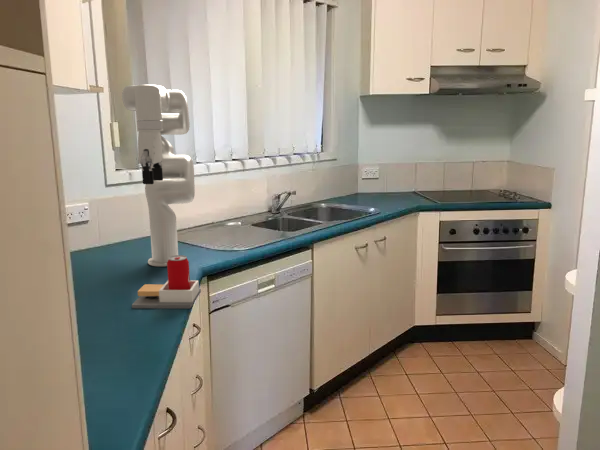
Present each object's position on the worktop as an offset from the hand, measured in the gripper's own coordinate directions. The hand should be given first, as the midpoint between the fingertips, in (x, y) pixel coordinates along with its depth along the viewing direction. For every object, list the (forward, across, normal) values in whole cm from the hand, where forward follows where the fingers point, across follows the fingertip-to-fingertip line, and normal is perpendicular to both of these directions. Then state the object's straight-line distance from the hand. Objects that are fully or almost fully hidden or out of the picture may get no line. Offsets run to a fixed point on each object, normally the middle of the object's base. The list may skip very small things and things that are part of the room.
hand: (153, 182), depth 159 cm
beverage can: (+32, +15, +10) cm, 37 cm away
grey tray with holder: (+33, +15, +6) cm, 37 cm away
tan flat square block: (+32, +15, +2) cm, 36 cm away
